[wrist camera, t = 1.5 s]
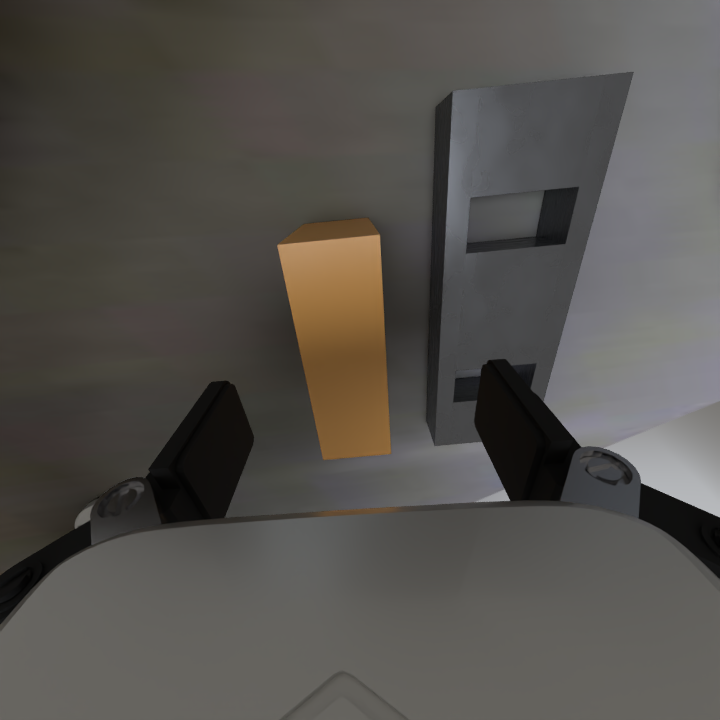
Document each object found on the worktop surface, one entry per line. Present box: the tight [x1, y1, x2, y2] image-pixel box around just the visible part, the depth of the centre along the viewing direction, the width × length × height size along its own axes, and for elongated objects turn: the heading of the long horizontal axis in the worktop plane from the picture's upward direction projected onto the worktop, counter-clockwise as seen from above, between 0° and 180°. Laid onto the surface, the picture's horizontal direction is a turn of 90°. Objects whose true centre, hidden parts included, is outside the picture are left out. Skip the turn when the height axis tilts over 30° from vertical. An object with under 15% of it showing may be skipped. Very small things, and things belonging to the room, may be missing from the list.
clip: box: [277, 218, 391, 460], centre depth 18 cm, size 12×4×8 cm, turn 5°
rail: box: [426, 72, 634, 446], centre depth 20 cm, size 22×8×3 cm, turn 5°
